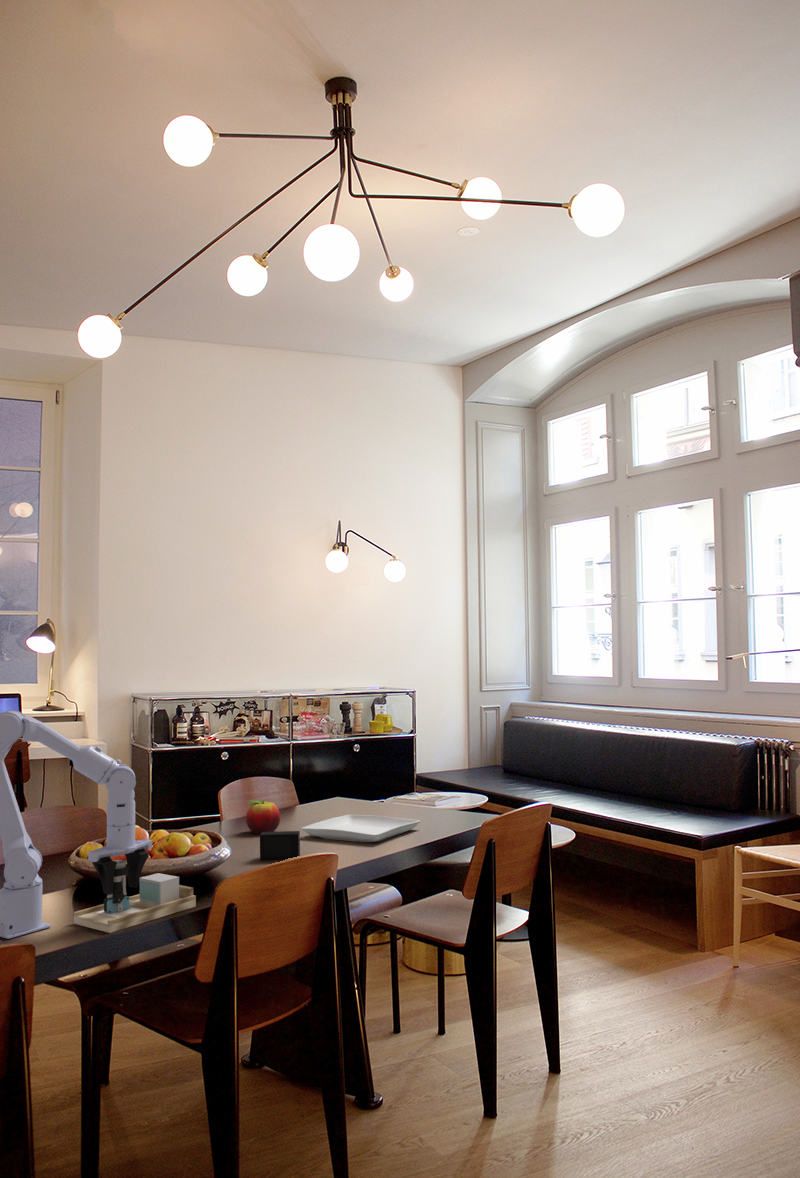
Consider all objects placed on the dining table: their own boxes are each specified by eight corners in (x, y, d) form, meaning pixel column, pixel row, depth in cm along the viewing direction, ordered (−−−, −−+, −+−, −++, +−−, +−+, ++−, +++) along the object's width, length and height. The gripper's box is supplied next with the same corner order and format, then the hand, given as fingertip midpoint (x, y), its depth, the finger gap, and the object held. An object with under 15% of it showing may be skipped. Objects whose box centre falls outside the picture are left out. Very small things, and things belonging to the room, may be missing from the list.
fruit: (277, 835, 270) (277, 802, 271) (242, 836, 270) (242, 803, 271) (283, 828, 281) (282, 796, 282) (249, 829, 281) (249, 797, 282)
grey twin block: (159, 906, 187) (159, 882, 188) (138, 901, 191) (138, 878, 192) (179, 900, 192) (179, 876, 192) (158, 896, 196) (158, 873, 196)
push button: (129, 904, 189) (129, 856, 190) (140, 909, 185) (140, 860, 186) (99, 911, 184) (99, 862, 185) (110, 915, 180) (110, 866, 181)
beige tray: (110, 932, 174) (110, 912, 174) (73, 923, 181) (74, 904, 181) (195, 906, 192) (195, 888, 192) (159, 898, 199) (159, 881, 199)
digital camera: (300, 855, 241) (300, 829, 241) (298, 860, 235) (298, 833, 236) (262, 856, 241) (262, 830, 241) (260, 861, 235) (259, 834, 236)
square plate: (376, 847, 251) (376, 833, 251) (299, 839, 264) (298, 826, 264) (422, 830, 274) (421, 818, 274) (348, 824, 288) (348, 812, 288)
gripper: (103, 831, 177) (102, 901, 176) (161, 820, 188) (161, 885, 187) (82, 828, 181) (81, 896, 180) (140, 817, 193) (140, 881, 191)
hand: (120, 890), depth 184 cm, fingers open, 6 cm apart
